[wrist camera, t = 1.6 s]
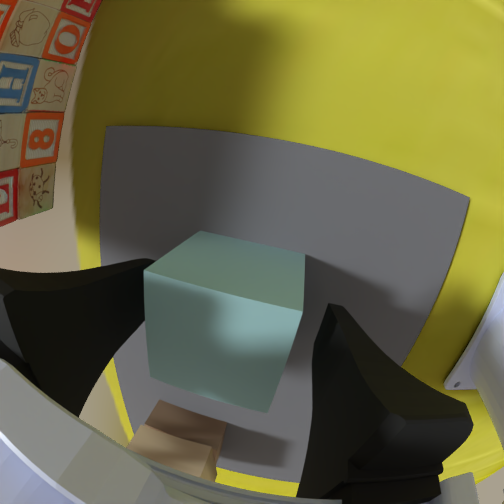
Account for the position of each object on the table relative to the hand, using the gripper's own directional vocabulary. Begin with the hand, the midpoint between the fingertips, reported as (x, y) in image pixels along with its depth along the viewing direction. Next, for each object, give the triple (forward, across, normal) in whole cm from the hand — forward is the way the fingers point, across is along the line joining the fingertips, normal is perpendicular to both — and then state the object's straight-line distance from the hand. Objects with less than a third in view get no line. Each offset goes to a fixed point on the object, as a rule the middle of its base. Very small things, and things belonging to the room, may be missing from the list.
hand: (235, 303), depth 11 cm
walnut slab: (+1, +2, +13) cm, 13 cm away
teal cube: (+1, 0, 0) cm, 1 cm away
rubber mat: (+2, 0, +6) cm, 7 cm away
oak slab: (-1, +2, +13) cm, 13 cm away
